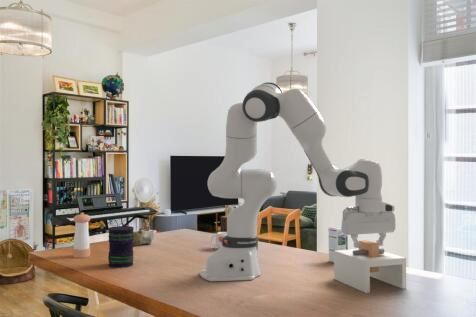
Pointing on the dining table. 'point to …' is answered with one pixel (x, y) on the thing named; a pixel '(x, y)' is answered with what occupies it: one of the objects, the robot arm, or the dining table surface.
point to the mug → (218, 239)
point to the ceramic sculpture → (143, 237)
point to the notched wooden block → (370, 251)
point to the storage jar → (121, 246)
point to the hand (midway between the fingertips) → (368, 246)
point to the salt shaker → (81, 236)
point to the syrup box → (336, 241)
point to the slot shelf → (368, 268)
